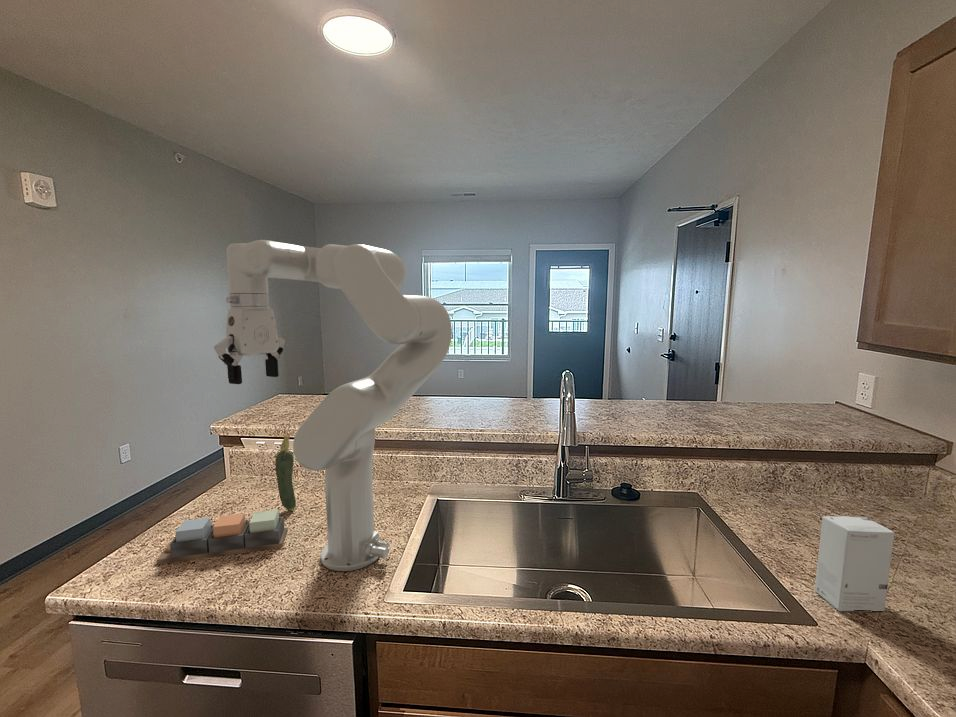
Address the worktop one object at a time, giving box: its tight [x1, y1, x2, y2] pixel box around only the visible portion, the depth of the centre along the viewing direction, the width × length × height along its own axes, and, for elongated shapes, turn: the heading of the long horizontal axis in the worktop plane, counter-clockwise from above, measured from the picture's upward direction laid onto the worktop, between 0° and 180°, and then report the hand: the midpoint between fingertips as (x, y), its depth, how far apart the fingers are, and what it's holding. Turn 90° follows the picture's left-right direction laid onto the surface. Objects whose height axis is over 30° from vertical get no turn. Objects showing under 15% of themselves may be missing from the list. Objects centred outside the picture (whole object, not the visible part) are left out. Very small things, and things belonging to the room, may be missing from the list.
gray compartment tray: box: [155, 515, 289, 565], centre depth 95 cm, size 24×7×4 cm, turn 105°
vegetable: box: [274, 434, 297, 511], centre depth 111 cm, size 4×4×20 cm
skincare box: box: [814, 515, 895, 612], centre depth 77 cm, size 8×6×15 cm
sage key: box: [249, 509, 280, 533], centre depth 97 cm, size 5×5×4 cm
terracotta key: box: [213, 513, 247, 538], centre depth 95 cm, size 5×5×4 cm
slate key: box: [174, 516, 212, 542], centre depth 94 cm, size 5×5×4 cm
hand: (254, 379), depth 96 cm, fingers open, 9 cm apart
